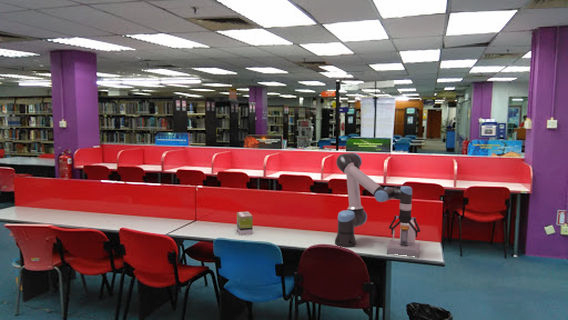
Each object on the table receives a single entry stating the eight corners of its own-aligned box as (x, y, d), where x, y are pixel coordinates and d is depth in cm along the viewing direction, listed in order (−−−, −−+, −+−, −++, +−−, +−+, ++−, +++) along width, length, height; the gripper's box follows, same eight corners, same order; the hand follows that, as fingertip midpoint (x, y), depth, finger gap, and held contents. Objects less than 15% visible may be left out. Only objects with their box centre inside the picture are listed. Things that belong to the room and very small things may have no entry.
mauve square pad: (386, 254, 257) (387, 245, 256) (389, 245, 275) (390, 237, 275) (418, 258, 249) (419, 249, 249) (419, 249, 268) (420, 240, 268)
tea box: (236, 229, 310) (236, 211, 309) (248, 229, 313) (248, 211, 312) (240, 235, 296) (240, 216, 295) (252, 234, 299) (253, 215, 298)
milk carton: (399, 242, 282) (400, 217, 280) (407, 242, 284) (408, 216, 282) (405, 245, 275) (407, 219, 273) (414, 244, 278) (415, 218, 276)
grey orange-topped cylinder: (398, 252, 261) (399, 226, 259) (399, 249, 266) (400, 224, 265) (408, 253, 259) (409, 227, 257) (408, 250, 264) (409, 225, 263)
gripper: (385, 208, 261) (384, 239, 263) (425, 212, 252) (423, 244, 254) (386, 206, 268) (385, 236, 270) (425, 210, 259) (423, 241, 261)
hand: (403, 240), depth 262 cm, fingers open, 13 cm apart
